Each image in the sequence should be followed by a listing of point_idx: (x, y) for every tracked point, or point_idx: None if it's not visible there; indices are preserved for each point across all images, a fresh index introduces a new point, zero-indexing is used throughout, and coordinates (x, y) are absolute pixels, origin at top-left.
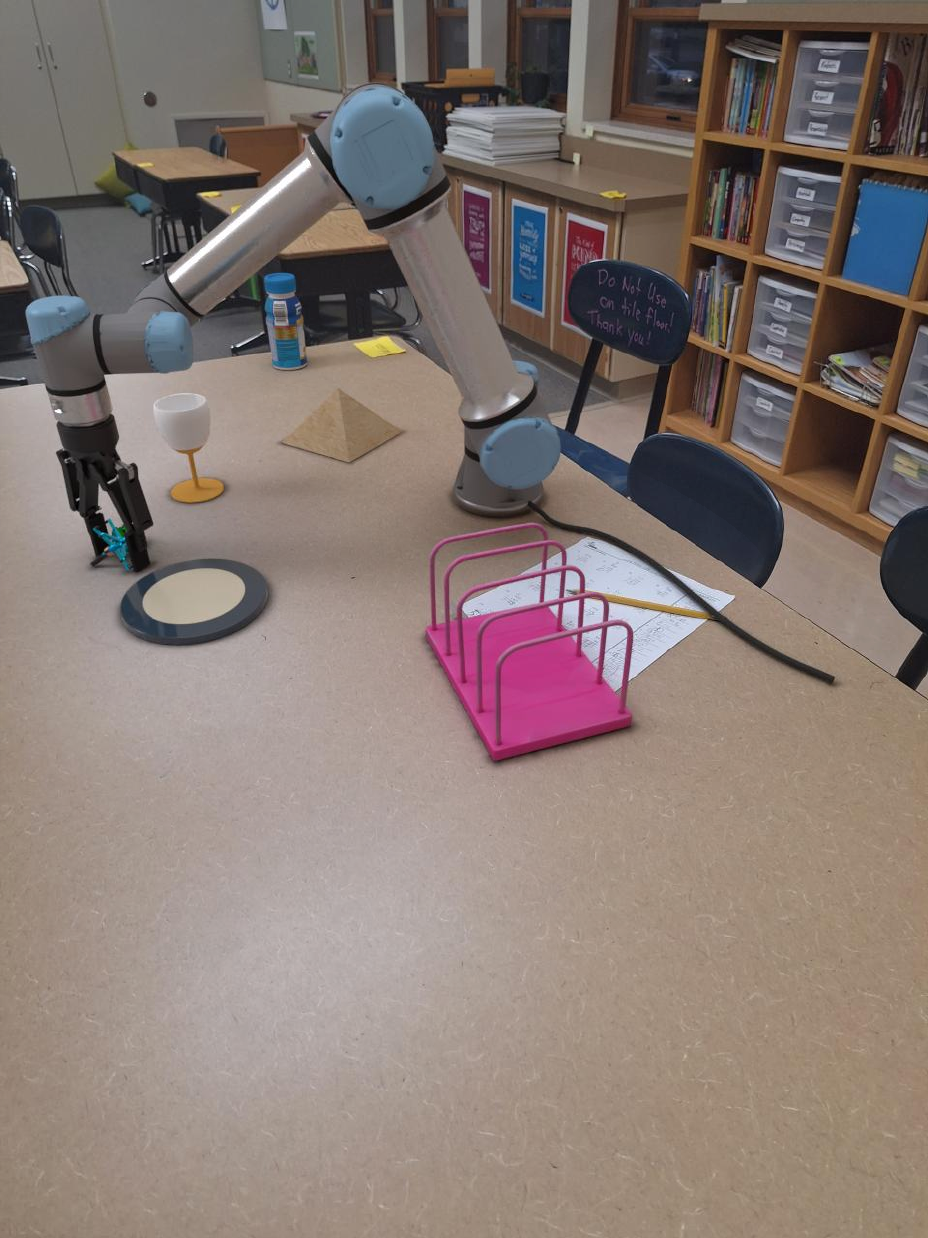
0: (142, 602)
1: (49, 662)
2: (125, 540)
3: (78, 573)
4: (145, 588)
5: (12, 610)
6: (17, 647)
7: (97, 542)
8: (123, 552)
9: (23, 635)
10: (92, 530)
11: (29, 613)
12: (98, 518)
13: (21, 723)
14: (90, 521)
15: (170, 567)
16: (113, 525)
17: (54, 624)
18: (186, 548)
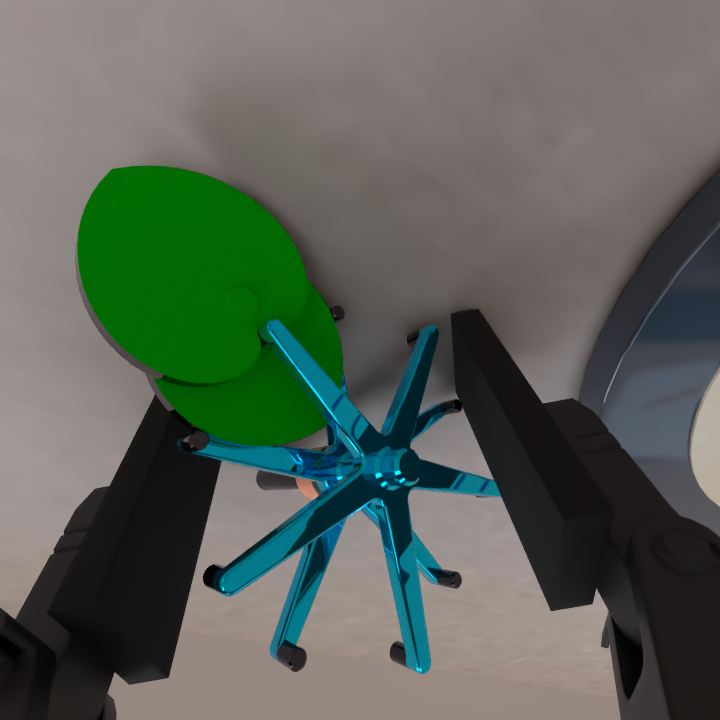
0: (713, 502)
1: (592, 651)
2: (524, 547)
3: (273, 512)
4: (666, 460)
5: (327, 649)
6: (482, 668)
7: (205, 495)
8: (475, 493)
9: (453, 656)
10: (185, 583)
11: (377, 634)
12: (134, 610)
13: None
14: (164, 658)
15: (681, 309)
16: (289, 546)
17: (481, 618)
18: (536, 11)
